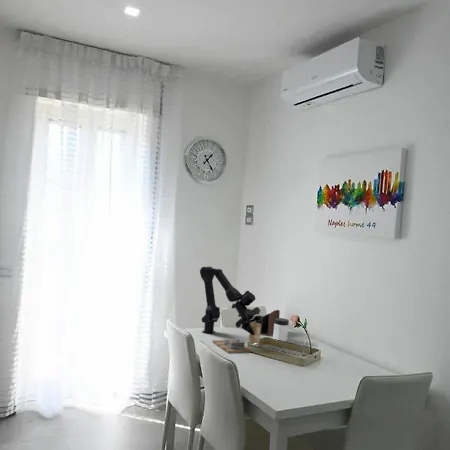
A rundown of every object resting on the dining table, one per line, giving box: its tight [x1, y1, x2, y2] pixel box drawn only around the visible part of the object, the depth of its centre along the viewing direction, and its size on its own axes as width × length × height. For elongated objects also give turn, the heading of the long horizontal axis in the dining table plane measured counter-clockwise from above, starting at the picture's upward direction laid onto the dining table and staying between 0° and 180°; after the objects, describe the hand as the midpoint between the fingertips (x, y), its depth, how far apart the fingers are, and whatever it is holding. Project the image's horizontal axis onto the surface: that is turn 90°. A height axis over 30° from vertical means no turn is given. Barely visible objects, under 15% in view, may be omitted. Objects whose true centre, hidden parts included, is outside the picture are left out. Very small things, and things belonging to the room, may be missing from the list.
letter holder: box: [259, 309, 280, 337], centre depth 304 cm, size 10×20×14 cm, turn 156°
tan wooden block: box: [248, 322, 261, 345], centre depth 268 cm, size 5×3×12 cm, turn 51°
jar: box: [272, 317, 290, 342], centre depth 287 cm, size 9×8×12 cm
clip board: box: [211, 337, 253, 354], centre depth 261 cm, size 20×14×4 cm
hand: (256, 334), depth 267 cm, fingers open, 5 cm apart
